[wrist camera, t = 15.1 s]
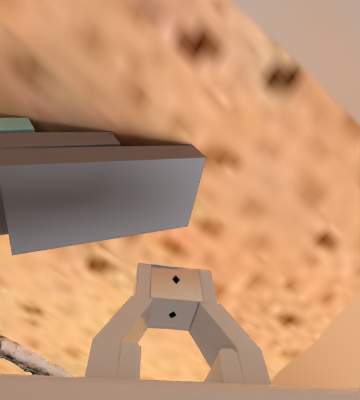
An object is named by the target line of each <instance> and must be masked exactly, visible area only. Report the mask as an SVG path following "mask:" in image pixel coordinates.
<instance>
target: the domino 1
mask: <svg viewBox="0 0 360 400" xmlns="http://www.w3.org/2000/svg"><path fill="white" fill-rule="evenodd" d="M115 146H120V143H119V141H118V140H117V139H116V138H115V136H114V135H113V134H112V133H111V132H22V133H0V148H57V147H115ZM5 234H8V228H7V222H6V216H5V210H4V204H3V198H2V192H1V186H0V235H5Z"/></svg>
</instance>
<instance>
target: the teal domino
mask: <svg viewBox="0 0 360 400" xmlns="http://www.w3.org/2000/svg"><path fill="white" fill-rule="evenodd" d="M22 132H35V131H34V127H33V126H32V124H31V122H30V120H29V119H28V117H27V118H0V133H22Z"/></svg>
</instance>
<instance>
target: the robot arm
mask: <svg viewBox="0 0 360 400" xmlns="http://www.w3.org/2000/svg"><path fill="white" fill-rule="evenodd" d="M147 328H160V329H175V330H185V331H189V333H190V335H191V336H192V338H193V339H194V341H195V343H196V344H197V346H198V348H199V349H200V351H201V353H202V354H203V356H204V358H205V359H206V361H207V363H208V364H209V366H210V367H211V369H210V371H209V373H208V375H207V377H206V379H205V381H204V382H189V381H164V380H139V378H140V358H141V347H140V346H139V345H138V344H137V343H138V342H139V340H140V339H141V337H142V336H143V335H144V333H145V332H146V330H147ZM0 400H360V388H359V389H358V388H335V387H311V386H286V385H285V386H284V385H271V382H270V379H269V375H268V372H267V368H266V365H265V361H264V358H263V354H262V351H261V349H260V348H259V347H258V346H257V345H256V344H255V342H254V341H253V340H252V339H251V338H250V337H249V336H248V334H247V333H246V332H245V331H244V330H243V329H242V328H241V326H240V325H239V324H238V323H237V322H236V321H235V320H234V318H233V317H232V316H231V315H230V314H229V313H228V312H227V310H226V309H225V308H224V307H223V306H222V305H221V304H217V300H216V294H215V289H214V284H213V279H212V274H211V271H210V270H201V269H190V268H179V267H168V266H160V265H152V264H151V265H150V264H143V263H138V267H137V273H136V278H135V284H134V291H133V296H131V297H130V299H129V300H128V301H127V302H126V303H125V304H124V305H123V306H122V307H121V309H120V310H119V311H118V312H117V313H116V314H115V315H114V316H113V318H112V319H111V320H110V321H109V322H108V323H107V324H106V325H105V326H104V328H103V329H102V330H101V331H100V332H99V333H98V334H97V335H96V336H95V338H94V339H93V341H92V346H91V350H90V355H89V360H88V364H87V369H86V374H85V377H66V376H42V375H18V374H0Z"/></svg>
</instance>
